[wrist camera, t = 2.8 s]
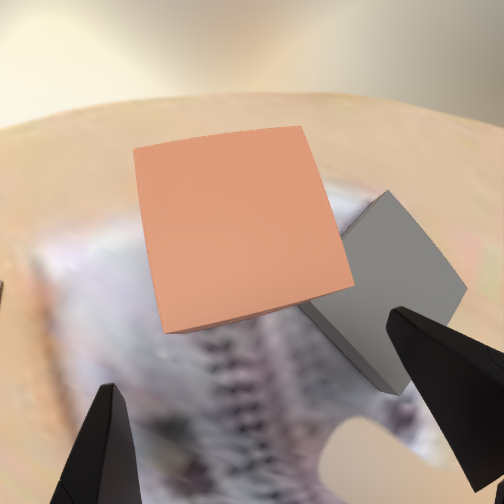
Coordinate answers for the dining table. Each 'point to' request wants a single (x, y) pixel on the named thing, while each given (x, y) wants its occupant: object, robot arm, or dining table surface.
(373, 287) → the podium
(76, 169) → the dining table surface
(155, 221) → the carton
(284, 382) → the dining table surface
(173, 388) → the dining table surface
